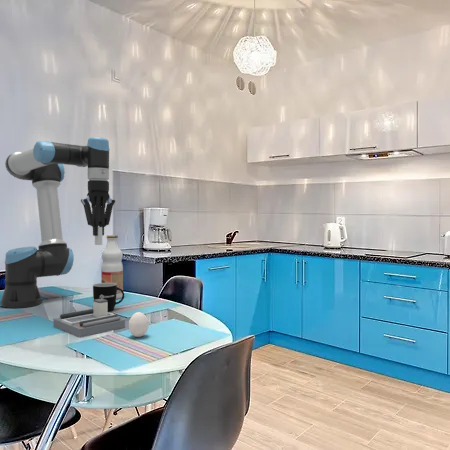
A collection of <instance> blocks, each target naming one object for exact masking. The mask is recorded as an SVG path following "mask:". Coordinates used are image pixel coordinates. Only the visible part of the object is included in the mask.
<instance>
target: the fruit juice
mask: <svg viewBox="0 0 450 450" xmlns="http://www.w3.org/2000/svg"><path fill="white" fill-rule="evenodd" d="M118 238H119V236H118V235H117V234H116V235H115V234H111V235H108V234H107V235H106V246H105V248H104V249H103V250H102V252H101V260H102V263H101V268H100V270H101V271H100V273H101V275H100V276H101V280H100V283H116V284H117V287H118V288H120V289H122V290H123V291H124V265H123V261H122V260H123V257H124V256H123V251H122V249H120V247H119V244H118V240H119V239H118ZM118 299H122V292H121V291H120V290H117V294H116V300H118Z"/></svg>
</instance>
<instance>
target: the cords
mask: <svg viewBox="0 0 450 450" xmlns="http://www.w3.org/2000/svg"><path fill="white" fill-rule="evenodd" d="M87 314H93V308H90V309H84V310H79V311H73V312H69V313H68V312H65V313H63V314H62V313H61V314H60V315H59V318H61V319H66V318H71V317H77V316H82V315H87ZM120 319H122V318H121V316H119V315H118V314H117V313H116V314H115V315H111V316H106V317H101V318H96V319H91V320H86V321H80V323H79V325H80V327H81V326H83V327H88V326H92V325H97V324H102V323H107V322H112V321H116V320H120Z"/></svg>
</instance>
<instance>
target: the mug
mask: <svg viewBox="0 0 450 450" xmlns="http://www.w3.org/2000/svg"><path fill="white" fill-rule="evenodd" d="M117 290H120V291H121V292H122V298H120V300H118V301H116V300H117V299H116V294H117ZM92 293H93V294H92V295H93V300H95V299H105V300H108V312H109V313H110V312H112V311H113V310H114V309H115V307H116V305H118V304H120V303H122V302H123V301H124V298H125V292H124V289H123V290H122V289H120V288H118V287H117V284H116V283H101V282H99V283H94V284H93V285H92Z"/></svg>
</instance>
